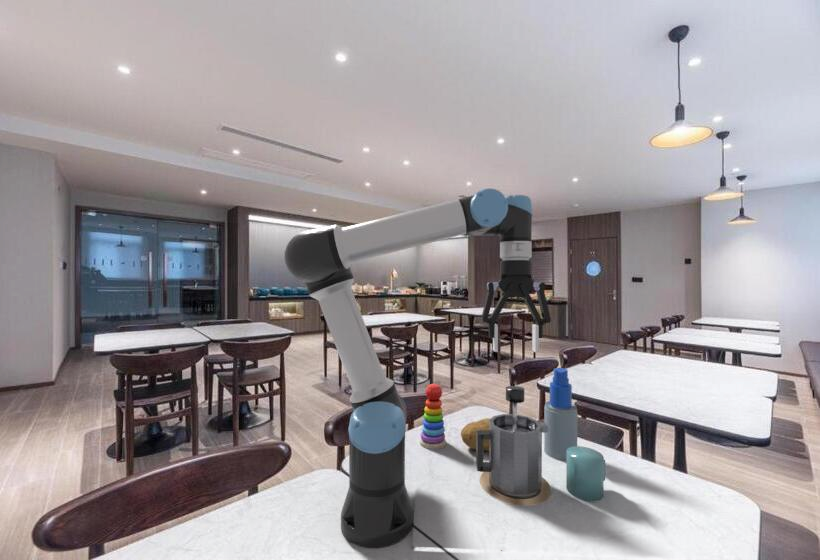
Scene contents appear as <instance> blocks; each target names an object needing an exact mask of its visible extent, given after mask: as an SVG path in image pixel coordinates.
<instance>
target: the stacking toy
mask: <svg viewBox="0 0 820 560" xmlns="http://www.w3.org/2000/svg"><path fill="white" fill-rule="evenodd" d="M442 389H443V388H442V387H441V386H440V385H439V384H437V383H431V384H429V385H427V386H426V389H425V395H426V398H427V399H426V401H425V407H424V409H423V411H424V414H423V421H422V425H423V426H422V428H421V432H420V441H419V445H420V446H421V447H422V448H425V449H427V450H440V449H442V448H443V449H444V447H446V444H447V441H446V440H447V439H446V434H445V431H446V429H445V426H444V425H445V421H444V414H443V407H442V404H443V402H442V400H441V399H440V398H442V396H443V390H442Z"/></svg>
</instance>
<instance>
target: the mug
mask: <svg viewBox="0 0 820 560" xmlns="http://www.w3.org/2000/svg"><path fill="white" fill-rule="evenodd" d="M565 466H566V467H565V468H566V472H565V473H566V474H565V475H566V476H565V477H566V485H565V486H566V491H567V492H568V493H569V494H571V496H573V497H575V498H577V499H579V500H582V501H586V502H599V501H602V500H603V499H604V492H605V491H604V488H605V487H604V486H605V485H604V483H605V481H606V459H605V458H604V455H603V454H602V453H601V452H599V451H598V450H596V449H593V448H591V447H586V446H579V445H577V446H573V447H569V448H568V449H567V461H566V465H565Z"/></svg>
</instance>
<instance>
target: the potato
mask: <svg viewBox="0 0 820 560" xmlns="http://www.w3.org/2000/svg"><path fill="white" fill-rule="evenodd" d="M491 418H492V417H491ZM491 418H482V419H480V420H476V421H472V422H469V423H467V424H466V425H465V426H464V427H463V428H462V429H461V431H460V436H461V440H462V441H463V443H464V444H465V445H466V446H468V448H470V449H472V450H475V451H476V430H477V431H479V430H489V420H490V419H491ZM484 451H485V452H486V451H487V452H489V439H483V452H484Z"/></svg>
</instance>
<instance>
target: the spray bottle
mask: <svg viewBox="0 0 820 560" xmlns="http://www.w3.org/2000/svg"><path fill="white" fill-rule="evenodd" d="M568 373H569V371H568V369H567V368H563V367H556V368H553V376H552V381H550V382H549V400H547V401H545V403H544V408H543V409H544V412H543V413H544V420H543V422H545V423H546V424H547V426H548V433H543V435H544V439H543V441H544V443H543V445H544V447H543V451H544V453H545V455H547V456H548V457H550V458H552V459H554V460H559V461H563V462H565V461H566V462H567V449H568V448H569V447H573V446H578V408H577V405H575V404H574V403H572V401H573V400H572V399H573V395H572V394H573V392H572V390H573V389H572V387H573V386H572V384H571V383H570V379H569V377H568V376H569V375H568Z"/></svg>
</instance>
